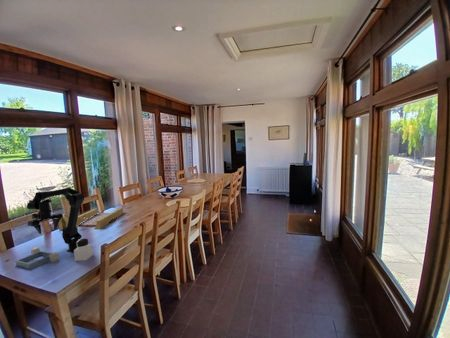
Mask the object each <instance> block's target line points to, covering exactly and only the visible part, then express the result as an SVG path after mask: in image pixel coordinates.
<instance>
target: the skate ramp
mask: <svg viewBox="0 0 450 338" xmlns="http://www.w3.org/2000/svg"><path fill="white" fill-rule="evenodd" d="M98 211H99V210H98V208H96V206H95V207H93V208H92V209H90V210H86V211H85V212H83V213H81V214H79V215H78V218H77V224H76V227H77V228H78V227H80V226H79V224H80V223H81V222H83V221H86V220H87V219H86V218H90V217H91V216H93V215H95V214H97V213H99V212H98ZM123 213H124V208H123V207H117V208H116V209H114V210H113V211H111V212H109V213H107V214H105V215H104V216H102V217H99V218H98V217H97V218H96V225H95V227H94V228H93V230H101V229H103V228H104V227H105V226H106V225H108V224H110V223H111V222H112V221H113V220H112V219H114V218H115V219H117V218H118V217H119V216H122V215H123ZM62 214H63V217H62V218H61V219H60V221H59V223H58V225H57V226H58V231H63V229H64V228H67V225H68V220H69V216H68V215H66V213H62ZM116 217H117V218H116ZM115 219H114V220H115ZM111 220H112V221H111ZM110 221H111V222H110ZM109 222H110V223H109Z"/></svg>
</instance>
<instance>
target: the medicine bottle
mask: <svg viewBox="0 0 450 338" xmlns="http://www.w3.org/2000/svg"><path fill="white" fill-rule="evenodd" d="M73 255H74V256H73V257H74V261H75V262H79V261H81V262H82V261H88V260H89V259H90V258H91V257H92V256H93V255H94V254H93V245H92V244H89V240H88V238H81V239H79V240H78V241H77V248H76V249H75V250H74V252H73Z"/></svg>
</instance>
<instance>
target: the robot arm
mask: <svg viewBox="0 0 450 338" xmlns="http://www.w3.org/2000/svg"><path fill="white" fill-rule="evenodd" d="M60 195H61V196H62V195H64V197H65V199H66V200H67V201H68V204H69V206H70V208H69V209H70V210H69V215H68V218H69V219H68V225H67V228H66V227H65V228H63V230H62V233H61V236H62V237H61V238H62V239H63V241H64V243H65V244H66V245H67V247H68V249H66V251H67V252H70V253H74V250H75V249H76V248H77V241H78V240H80V239H82V234H81V233H80V232H79V231H78V227H76V224H77V218H78V216H79V214H80V212H79V211H80V207H81V205H82V204H83V203H84V200H85V195H84V194H83V193H81V192H80V191H78V190H75V189H73V188H72V187H64V188H61V189H54V190H46V189H45V190H41V191H37V192H35V195H34V196H33V199H30V200H28V201H29V202H28V203H27V205H26V209H27V210H29V211H31V210H32V211H36V210H37V211H38V210H39V211H38V213H33V214H31V218H32V219H31V220H28V221H27V226H29V227H34V229H36V231H37V233H38V234H39V235H41V234H42V227H41V223H43V222H47V221H49V220H50V221H51V220H52V221H53V229H54V230H56V229H57V227H58V226H59V225H58V223H59V221H60V219H61V218H62V217H63V214H64V213H61V212H60V213H59V212H58V213H54V214H52V209H51V206H50V203H52V202H53V201H52V200H51V199H50V198H52V197H56V196H60Z"/></svg>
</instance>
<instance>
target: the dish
mask: <svg viewBox="0 0 450 338" xmlns="http://www.w3.org/2000/svg"><path fill="white" fill-rule="evenodd" d="M53 253H54V252H53ZM53 253H52V252H47V251H43V250H40V251H39V252H37V253H34V254H30V255H27V256H24V257H22V258H19V259H17V260H15V266H16V267H20V268H24V269H27V270H32V269H34V268H35V267H38V266H40V265H43V264H44V263H45V264H46V262H50V258H49V255H50V254H53ZM40 256H43V258H39V259H36V258H38V257H40Z"/></svg>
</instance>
